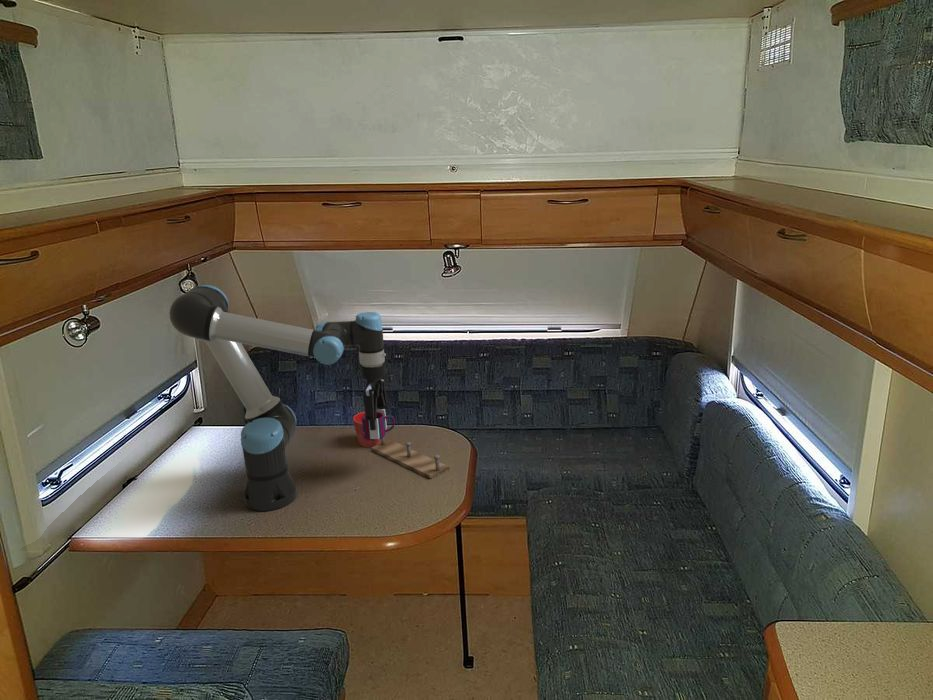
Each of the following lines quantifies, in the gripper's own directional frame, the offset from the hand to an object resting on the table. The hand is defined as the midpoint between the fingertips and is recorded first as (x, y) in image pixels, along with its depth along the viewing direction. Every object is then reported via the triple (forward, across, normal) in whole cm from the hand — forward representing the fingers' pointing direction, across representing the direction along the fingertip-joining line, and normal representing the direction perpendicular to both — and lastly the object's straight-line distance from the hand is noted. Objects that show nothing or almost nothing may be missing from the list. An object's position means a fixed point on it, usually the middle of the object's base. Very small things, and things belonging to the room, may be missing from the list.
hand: (378, 433), depth 211 cm
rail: (+13, +8, -7) cm, 17 cm away
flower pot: (+13, +20, +10) cm, 26 cm away
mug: (+1, 0, 0) cm, 1 cm away
